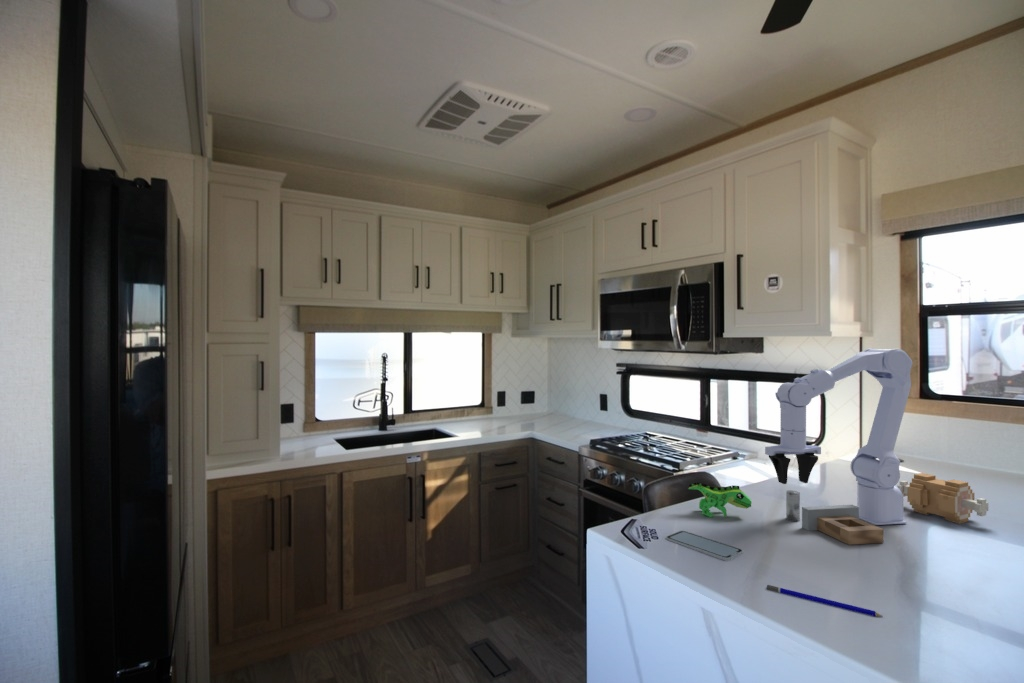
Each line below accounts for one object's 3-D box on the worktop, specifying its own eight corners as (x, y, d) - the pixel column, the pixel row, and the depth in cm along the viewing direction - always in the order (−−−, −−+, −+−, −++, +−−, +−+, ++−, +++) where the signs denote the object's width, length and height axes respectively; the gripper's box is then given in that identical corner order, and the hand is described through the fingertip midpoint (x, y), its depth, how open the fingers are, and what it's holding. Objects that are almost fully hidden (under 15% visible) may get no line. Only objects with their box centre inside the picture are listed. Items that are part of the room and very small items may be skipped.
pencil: (766, 591, 89) (766, 585, 89) (766, 588, 89) (766, 583, 89) (883, 620, 79) (883, 614, 79) (882, 617, 80) (882, 611, 80)
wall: (852, 524, 122) (852, 504, 122) (858, 527, 120) (858, 507, 120) (801, 527, 119) (802, 507, 119) (808, 530, 117) (808, 509, 117)
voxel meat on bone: (912, 503, 139) (912, 468, 139) (994, 525, 122) (994, 485, 122) (890, 508, 135) (890, 471, 135) (973, 530, 118) (973, 489, 118)
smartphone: (682, 530, 116) (744, 550, 105) (682, 533, 116) (744, 554, 105) (664, 537, 112) (727, 558, 100) (664, 540, 112) (727, 563, 100)
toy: (742, 531, 124) (757, 495, 124) (683, 506, 127) (697, 470, 127) (737, 523, 130) (751, 488, 130) (680, 499, 133) (693, 465, 133)
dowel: (793, 517, 127) (794, 490, 127) (802, 521, 124) (802, 493, 124) (783, 517, 126) (783, 490, 126) (791, 521, 123) (792, 494, 123)
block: (850, 527, 119) (850, 515, 119) (883, 542, 110) (883, 529, 110) (817, 529, 118) (817, 517, 118) (848, 544, 109) (848, 531, 109)
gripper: (806, 426, 130) (806, 477, 130) (757, 427, 128) (757, 479, 128) (827, 431, 123) (827, 484, 123) (776, 432, 121) (775, 487, 121)
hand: (793, 482), depth 125 cm, fingers open, 5 cm apart
